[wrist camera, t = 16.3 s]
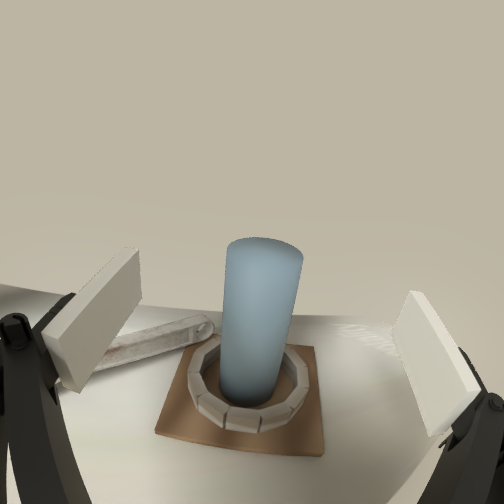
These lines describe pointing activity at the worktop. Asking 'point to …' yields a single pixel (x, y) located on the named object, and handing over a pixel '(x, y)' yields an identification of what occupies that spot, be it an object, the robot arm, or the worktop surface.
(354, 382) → the worktop surface
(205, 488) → the worktop surface
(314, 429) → the collar board
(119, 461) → the worktop surface
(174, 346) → the wrench
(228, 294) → the post
